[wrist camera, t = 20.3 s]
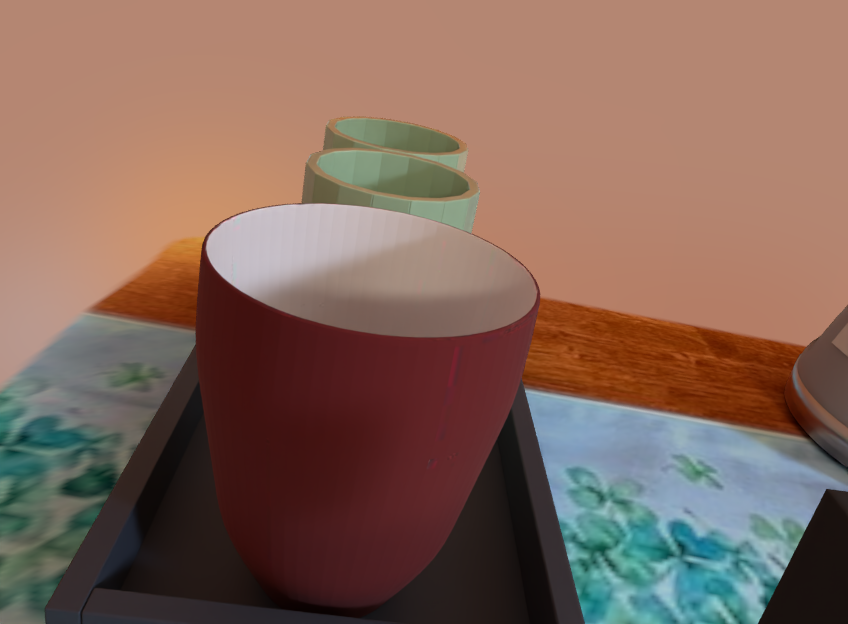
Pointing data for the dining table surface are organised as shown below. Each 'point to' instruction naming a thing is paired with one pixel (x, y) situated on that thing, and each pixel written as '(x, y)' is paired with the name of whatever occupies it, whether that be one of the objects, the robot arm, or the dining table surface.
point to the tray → (241, 593)
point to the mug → (352, 390)
